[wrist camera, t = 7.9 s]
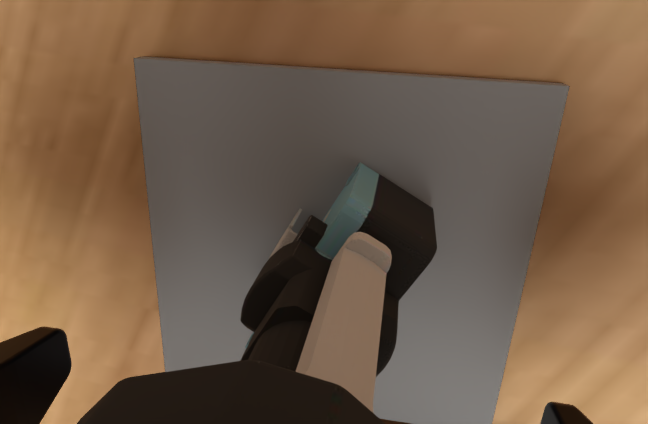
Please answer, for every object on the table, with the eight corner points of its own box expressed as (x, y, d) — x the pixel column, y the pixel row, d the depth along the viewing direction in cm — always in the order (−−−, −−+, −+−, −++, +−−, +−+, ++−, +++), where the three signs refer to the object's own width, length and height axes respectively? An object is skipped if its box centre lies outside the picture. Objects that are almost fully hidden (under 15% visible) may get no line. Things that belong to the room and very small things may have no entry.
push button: (347, 393, 15) (236, 1028, 5) (192, 301, 14) (-198, 812, 5) (491, 225, 12) (744, 922, 3) (305, 107, 12) (-96, 454, 2)
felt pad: (173, 373, 16) (166, 384, 16) (144, 56, 12) (133, 58, 12) (486, 422, 15) (489, 435, 14) (562, 82, 11) (569, 86, 10)
